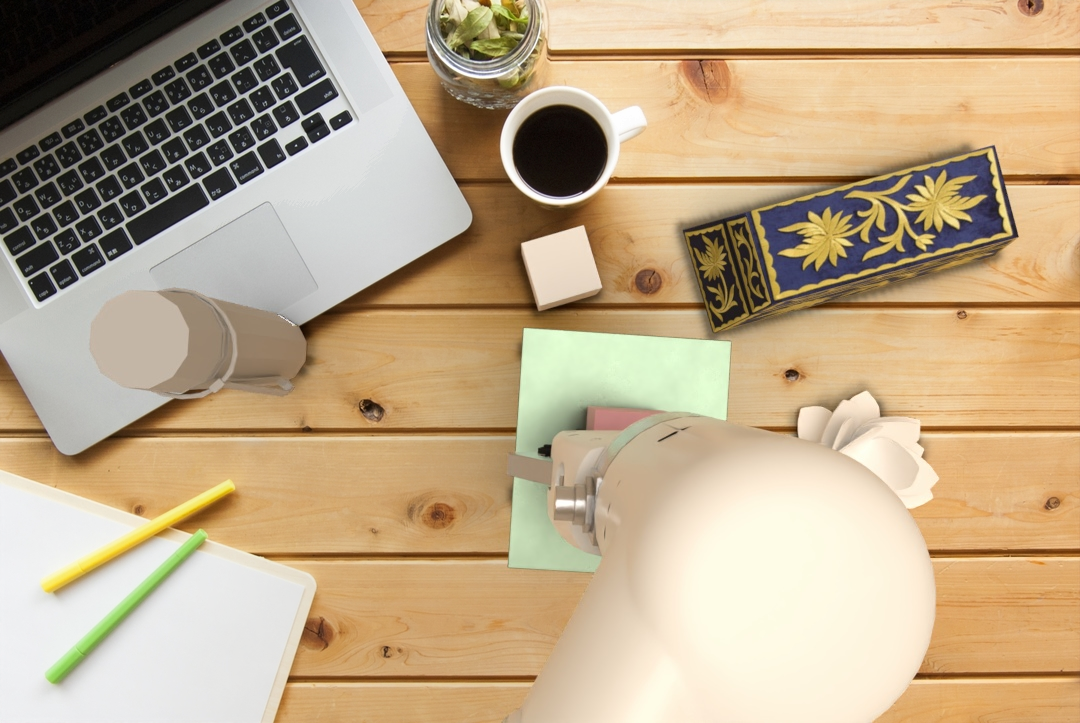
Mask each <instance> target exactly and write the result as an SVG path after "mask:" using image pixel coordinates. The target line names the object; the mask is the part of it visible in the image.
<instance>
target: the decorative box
mask: <svg viewBox="0 0 1080 723" xmlns="http://www.w3.org/2000/svg"><path fill="white" fill-rule="evenodd" d="M1017 228H1018V227H1017V224H1016V220H1015V216H1014V213H1013V209H1012V206H1011V202H1010V198H1009V194H1008V189H1007V185H1006V182H1005V178H1004V175H1003V172H1002V166H1001V164H1000V159H999V155H998V152H997V148H996V145H995V144H992V145H988V146H985V147H981V148H978V149H973V150H970V151H966V152H963V153H959V154H954V155H952V156H948V157H944V158H940V159H936V160H933V161H929V162H926V163H922V164H918V165H915V166H911V167H907V168H904V169H900V170H896V171H893V172H889V173H886V174H882V175H881V174H880V175H878V176H874V177H870V178H866V179H863V180H859V181H855V182H852V183H849V184H845V185H840V186H837V187H834V188H830V189H827V190H822V191H818V192H815V193H812V194H808V195H803V196H800V197H796V198H793V199H789V200H786V201H782V202H778V203H774V204H770V205H767V206H764V207H760V208H756V209H753V210H749V211H745V212H742V213H739V214H735V215H730V216H728V217H724V218H721V219H717V220H714V221H710V222H706V223H702V224H700V225H696V226H692V227H689V228H685V229H682V233H683V236H684V239H685V244H686V246H687V250H688V253H689V257H690V260H691V264H692V267H693V270H694V274H695V277H696V281H697V284H698V287H699V290H700V294H701V297H702V298H701V299H702V301H703V305H704V308H705V311H706V314H707V318H708V321H709V325H710V328H711V332H712V334H716V333H720V332H723V331H727V330H732V329H734V328H738V327H741V326H745V325H749V324H752V323H756V322H760V321H764V320H768V319H771V318H774V317H778V316H781V315H786V314H789V313H793V312H796V311H799V310H804V309H807V308H812V307H815V306H819V305H822V304H826V303H830V302H833V301H836V300H840V299H844V298H848V297H851V296H856V295H858V294H862V293H866V292H870V291H873V290H876V289H880V288H881V289H882V288H884V287H889V286H891V285H894V284H899V283H902V282H903V283H904V282H906V281H910V280H914V279H917V278H921V277H924V276H928V275H931V274H936V273H939V272H943V271H946V270H949V269H954V268H957V267H961V266H964V265H968V264H973V263H976V262H979V261H983V260H987V259H990V258H993V257H995V256H997V255H998V254H999V253H1000V252H1002V251H1003V250H1004V249H1006V248H1007V247H1008V246H1010V245H1011V244H1012V243H1013V242H1014V241H1016V240H1017V239H1018V238H1020V236H1019V232H1018V229H1017Z"/></svg>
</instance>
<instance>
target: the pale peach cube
mask: <svg viewBox="0 0 1080 723" xmlns="http://www.w3.org/2000/svg"><path fill="white" fill-rule="evenodd" d="M520 248H521V257H522V260H523V264H524V266H525V271H526V274H527V277H528V281H529V284H530V287H531V290H532V293H533V298H534V300H535V304H536V308H537V310H538V312H542V311H545V310H549V309H551V308H552V309H553V308H556V307H560V306H563V305H566V304H569V303H573V302H577V301H580V300H582V299H586V298H589V297H593V296H596V295H597V294H599V292H600V291H601V290H602V289H603V285H602V282H601V278H600V275H599V272H598V268H597V265H596V262H595V258H594V255H593V252H592V247H591V244H590V241H589V237H588V234H587V231H586V227H585V225H584V224H583V225H579V226H576V227H573V228H569V229H566V230H562V231H559V232H556V233H551V234H547V235H544V236H542V237H538V238H535V239H531V240H528V241H525V242H521V243H520Z"/></svg>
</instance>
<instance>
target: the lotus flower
mask: <svg viewBox="0 0 1080 723" xmlns="http://www.w3.org/2000/svg"><path fill="white" fill-rule="evenodd" d="M880 412H881V411H880V406H879V404H878V402H877V400H876V399H875V398H874V397H873V396H872V394H871V393H870V392H869V391H868V390H863V391H861V392H860V393H857V394H855V395H853V396H852V397H851V398H849V399H842V400H841V401H840V402H839V404H838V405H837V406H836V408H834V411H833V412H832V411H831V410H830V409H828V408H826V407H824V406H818V405H811V406H805V407H801V408H800V409H799V413H798V418H797V438H801V439H805V440H809V441H812V442H815V443H818V444H821V445H824V446H826V447H829V448H831V449H834V450H836V451H839V452H841V453H843V454H845V455H847V456H849V457H851V458H853V459H855V460H856V461H858V462H860V463H861V464H863V465H864V466H865V467H867V468H868V469H870V470H871V471H872V472H873V473H875V474H876V475H877V476H878V477H879V478H881V479H882V480H883V481H884V482H885V483H886V484H887V485H888V486H889V487H890V488H891V489H892V491H893V492H894V493H895V494H896V495H897V496H898V497H899V498H900V499H901V500H902V502H903V503H904V505H905V506H906V508H907V509H908V510H910V509H915V508H917V507H920V506H923V505H924V504H926V503H928V502H930V501H931V500H933V499H934V495H933V492H932V490H931V489H932V488H933V487H934V486H935V485H936V484H937V483H938V482H939V481H940V477H939V475H938V474H937V472H936V471H935V470H934V468H933V467H932V465H931V464H930V463H928V462H927V461H926V460H925V459H924V458H923V457H922V456H923V454H924V451H925V448H924V447H923V446H921V445H920V444H919V443H918V441H920V436H921V422H922V421H921V420H920V419H918V418H915V417H910V416H906V415H905V416H904V415H903V416H902V415H893V416H881V413H880Z"/></svg>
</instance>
